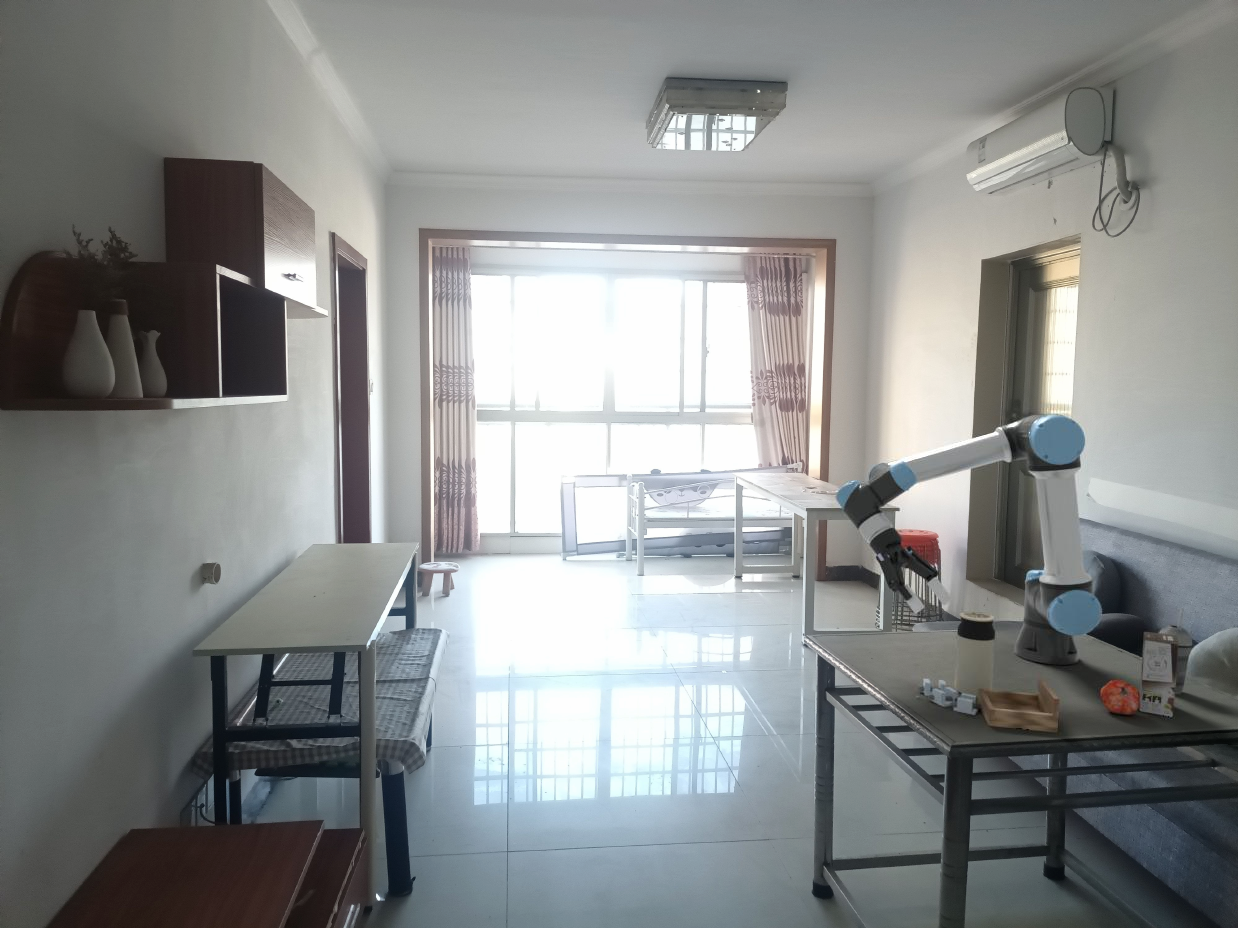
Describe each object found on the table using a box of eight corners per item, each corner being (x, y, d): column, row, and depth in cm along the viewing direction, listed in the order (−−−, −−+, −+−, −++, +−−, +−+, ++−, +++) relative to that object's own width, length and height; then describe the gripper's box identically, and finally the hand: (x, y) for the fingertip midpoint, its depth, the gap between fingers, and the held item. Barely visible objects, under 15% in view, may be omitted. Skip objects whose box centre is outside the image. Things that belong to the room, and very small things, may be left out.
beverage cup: (1150, 683, 204) (1156, 602, 202) (1186, 688, 200) (1192, 606, 199) (1154, 692, 197) (1160, 608, 195) (1191, 698, 194) (1198, 612, 192)
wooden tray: (1040, 709, 184) (1042, 678, 184) (1057, 732, 172) (1059, 698, 171) (977, 703, 187) (979, 673, 187) (988, 725, 175) (990, 692, 174)
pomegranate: (1095, 715, 188) (1098, 699, 181) (1102, 685, 191) (1105, 668, 184) (1134, 726, 184) (1139, 710, 177) (1140, 695, 187) (1144, 678, 180)
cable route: (971, 693, 194) (972, 681, 194) (983, 715, 180) (983, 702, 180) (916, 688, 197) (917, 676, 196) (924, 709, 183) (924, 697, 183)
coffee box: (1173, 717, 181) (1179, 644, 180) (1138, 711, 185) (1143, 639, 183) (1172, 705, 189) (1177, 634, 188) (1139, 699, 192) (1143, 630, 191)
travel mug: (995, 698, 191) (1000, 620, 189) (958, 695, 192) (962, 618, 191) (986, 687, 199) (990, 612, 197) (951, 684, 200) (955, 609, 199)
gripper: (896, 539, 222) (948, 606, 212) (843, 549, 205) (896, 622, 196) (916, 522, 218) (970, 590, 208) (863, 530, 201) (919, 604, 191)
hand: (934, 606), depth 202 cm, fingers open, 13 cm apart
